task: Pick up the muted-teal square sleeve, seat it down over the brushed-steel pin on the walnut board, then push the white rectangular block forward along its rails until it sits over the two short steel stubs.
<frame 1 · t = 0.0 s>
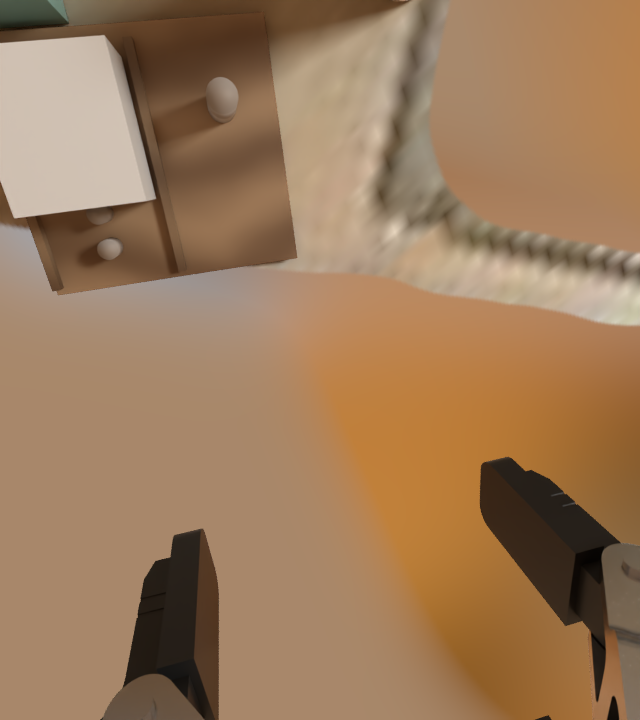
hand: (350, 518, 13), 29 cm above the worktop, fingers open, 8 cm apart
board: (157, 162, 34), on the worktop
white rectangular block: (70, 134, 29), point 4 cm above the worktop, slide at 6.0 cm
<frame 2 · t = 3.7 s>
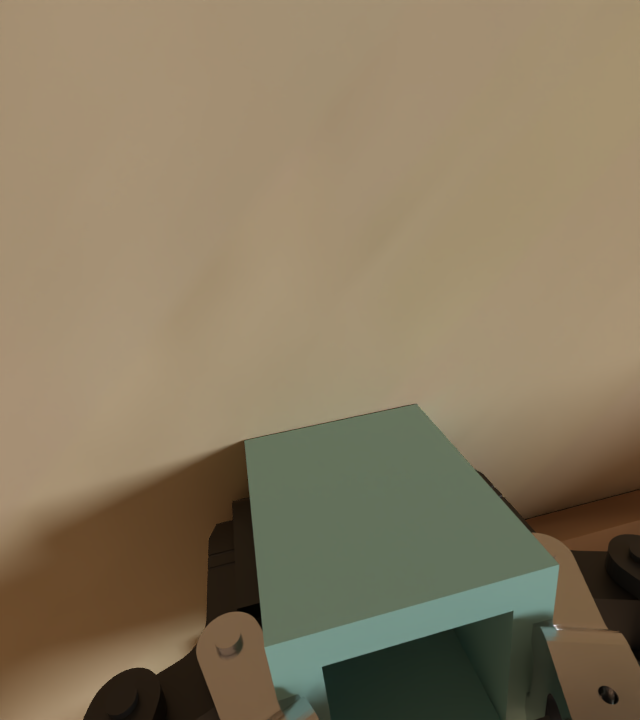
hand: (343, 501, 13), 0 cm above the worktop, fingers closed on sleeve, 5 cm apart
board: (505, 678, 19), on the worktop
sleeve: (341, 492, 14), on the worktop, touching gripper
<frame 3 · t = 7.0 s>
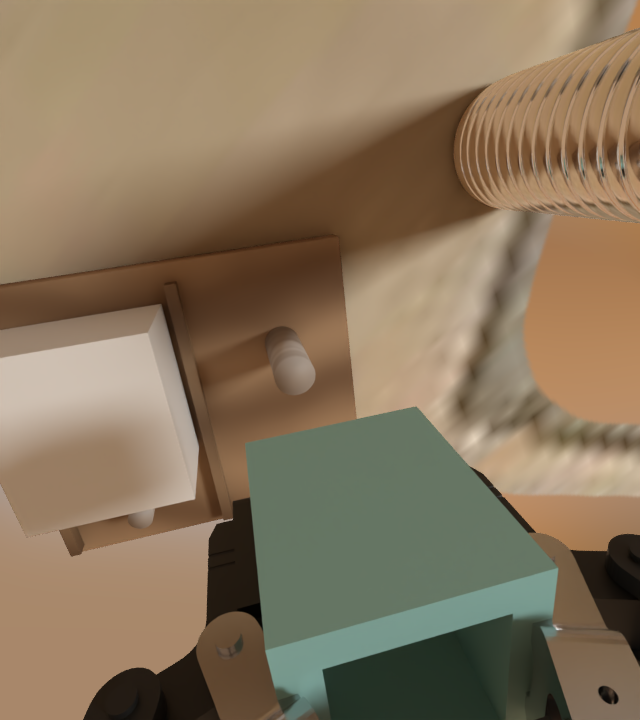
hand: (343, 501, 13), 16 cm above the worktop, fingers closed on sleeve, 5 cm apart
board: (199, 397, 28), on the worktop
sleeve: (341, 494, 14), point 15 cm above the worktop, touching gripper
water bottle: (500, 146, 26), on the worktop
white rectangular block: (97, 414, 23), point 4 cm above the worktop, slide at 6.0 cm
when the fingers open (3 cm above the worktop, at t = 10.0 s): sleeve drops 1 cm, resting on board.
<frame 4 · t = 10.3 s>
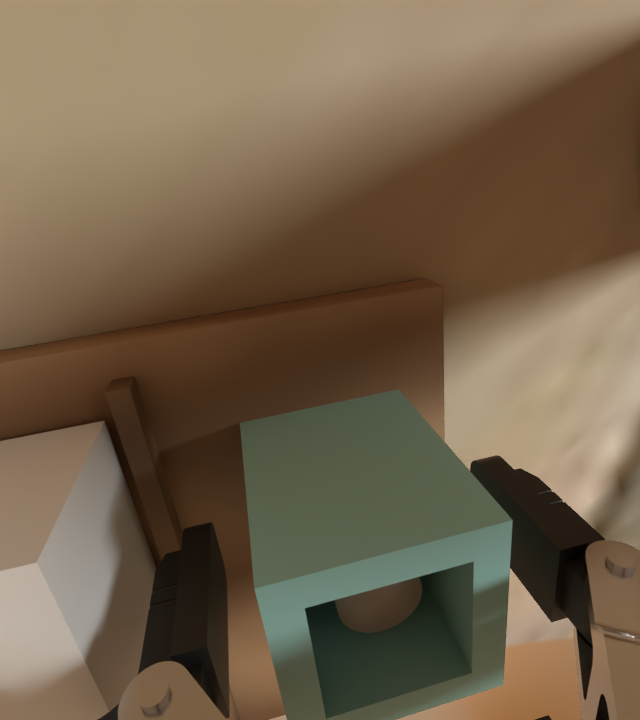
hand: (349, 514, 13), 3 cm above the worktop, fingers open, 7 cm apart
board: (183, 553, 16), on the worktop
sleeve: (330, 472, 15), point 1 cm above the worktop, touching board
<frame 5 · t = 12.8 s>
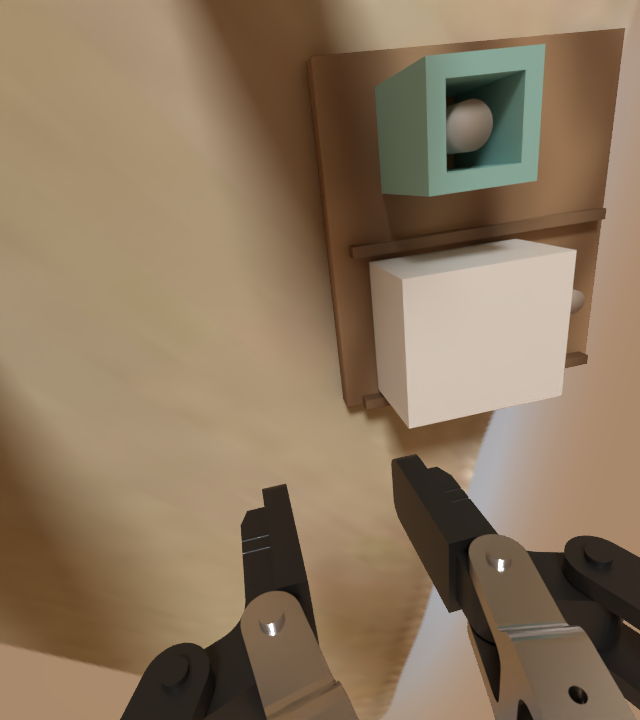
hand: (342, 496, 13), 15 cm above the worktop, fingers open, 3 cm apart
board: (463, 233, 27), on the worktop
sleeve: (423, 136, 24), point 1 cm above the worktop, touching board
white rectangular block: (465, 328, 25), point 4 cm above the worktop, slide at 6.0 cm
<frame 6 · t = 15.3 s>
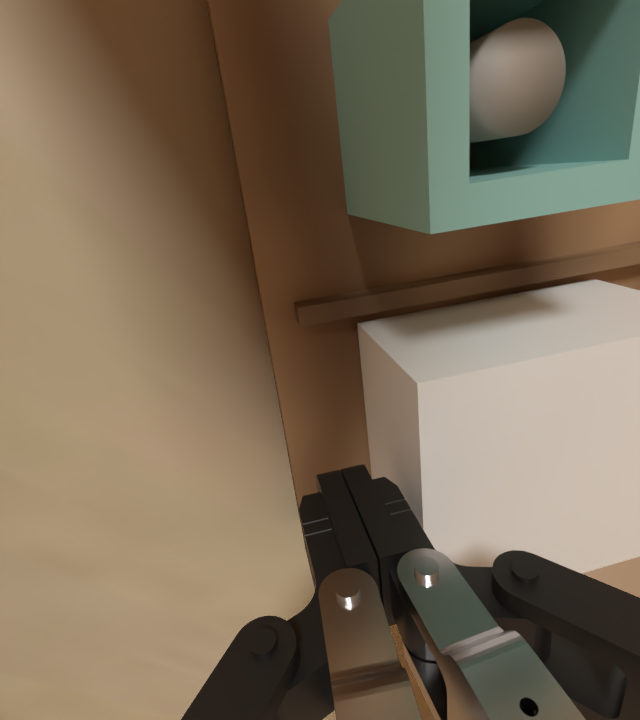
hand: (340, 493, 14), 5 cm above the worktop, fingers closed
board: (484, 273, 17), on the worktop
sleeve: (419, 114, 13), point 1 cm above the worktop, touching board
white rectangular block: (517, 433, 15), point 4 cm above the worktop, slide at 5.0 cm, touching gripper
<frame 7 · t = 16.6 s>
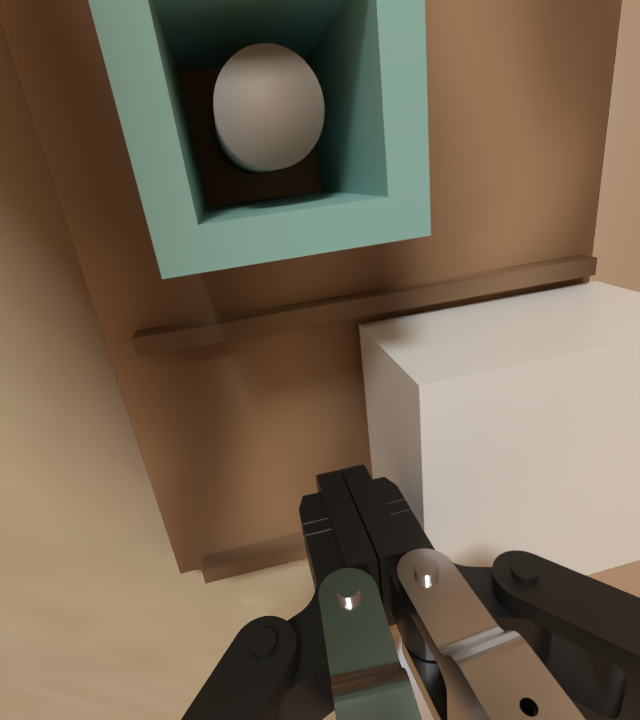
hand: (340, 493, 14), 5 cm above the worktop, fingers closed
board: (358, 296, 16), on the worktop
sleeve: (254, 135, 13), point 1 cm above the worktop, touching board
white rectangular block: (519, 435, 15), point 4 cm above the worktop, slide at 0.0 cm, touching gripper
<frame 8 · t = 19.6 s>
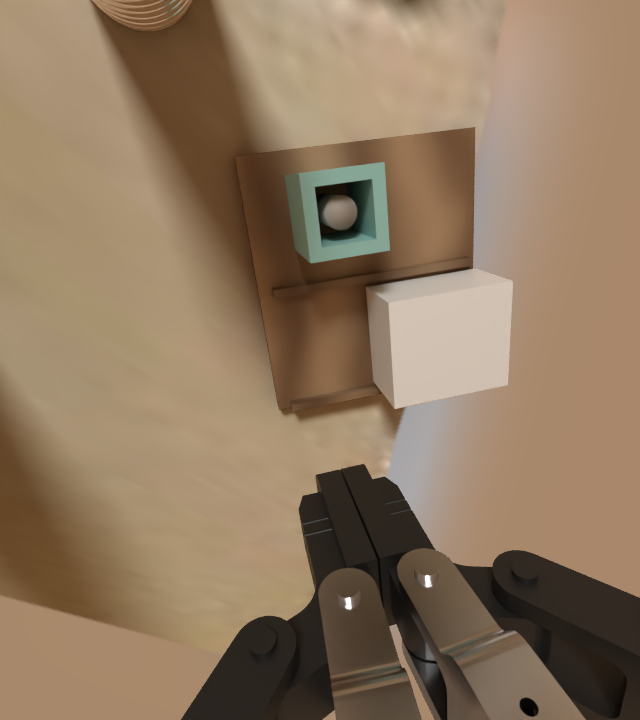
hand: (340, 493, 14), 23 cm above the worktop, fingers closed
board: (365, 275, 35), on the worktop
sleeve: (324, 208, 32), point 1 cm above the worktop, touching board
white rectangular block: (436, 335, 34), point 4 cm above the worktop, slide at 0.0 cm
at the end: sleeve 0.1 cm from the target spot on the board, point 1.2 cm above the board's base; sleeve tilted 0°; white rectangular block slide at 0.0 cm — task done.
